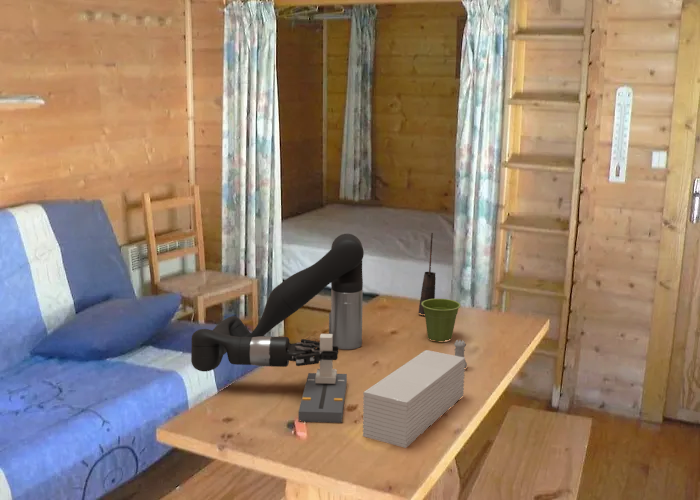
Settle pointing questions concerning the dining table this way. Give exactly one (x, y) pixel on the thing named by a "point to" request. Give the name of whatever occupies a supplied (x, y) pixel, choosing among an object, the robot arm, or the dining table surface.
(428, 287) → the butter churn
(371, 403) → the stack of papers
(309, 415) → the fader console
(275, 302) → the robot arm
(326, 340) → the fader tab
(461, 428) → the dining table surface
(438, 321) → the plant pot
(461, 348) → the rook chess piece
